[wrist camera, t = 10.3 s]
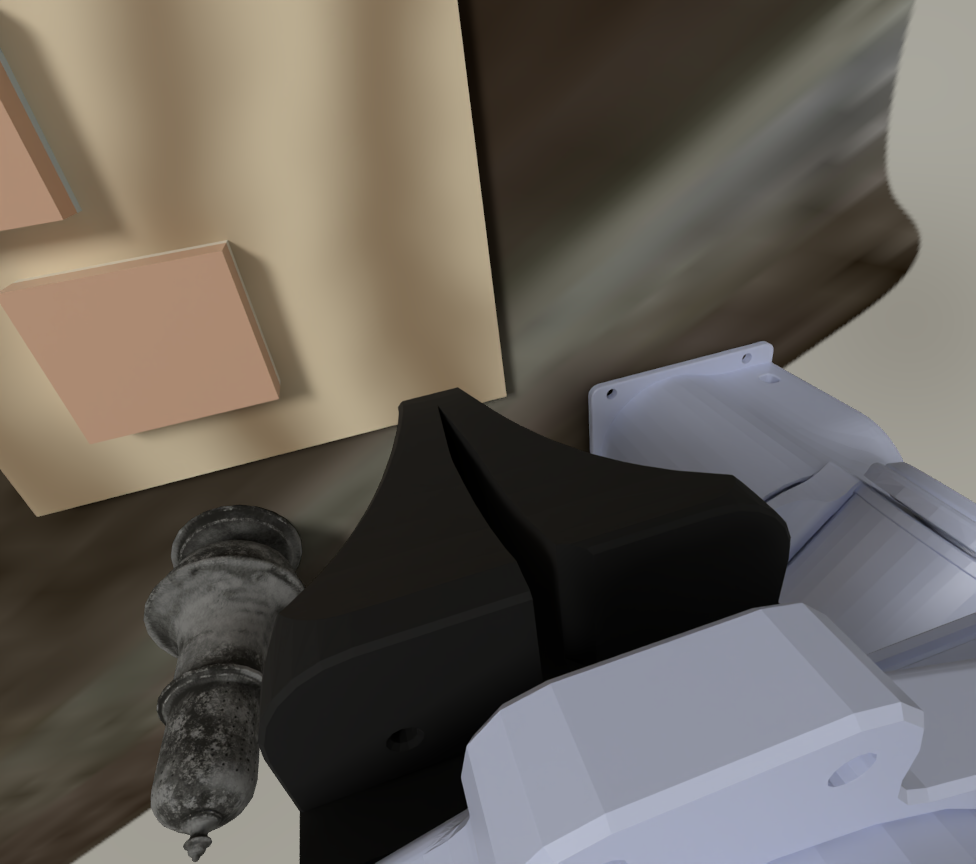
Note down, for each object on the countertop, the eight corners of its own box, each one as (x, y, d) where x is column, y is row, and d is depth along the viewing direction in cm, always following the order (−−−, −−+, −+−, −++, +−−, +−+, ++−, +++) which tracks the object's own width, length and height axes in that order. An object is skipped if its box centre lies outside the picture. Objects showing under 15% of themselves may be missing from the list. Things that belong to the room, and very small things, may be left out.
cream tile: (221, 250, 16) (-6, 294, 15) (279, 399, 19) (89, 444, 18) (227, 239, 17) (18, 279, 16) (280, 380, 20) (103, 422, 19)
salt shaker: (312, 499, 24) (318, 777, 14) (305, 597, 27) (306, 889, 17) (159, 499, 22) (41, 822, 12) (167, 605, 25) (77, 940, 15)
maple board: (432, -125, 15) (440, -138, 14) (499, 386, 24) (506, 396, 23) (-363, -55, 12) (-411, -67, 11) (47, 500, 21) (36, 516, 20)
